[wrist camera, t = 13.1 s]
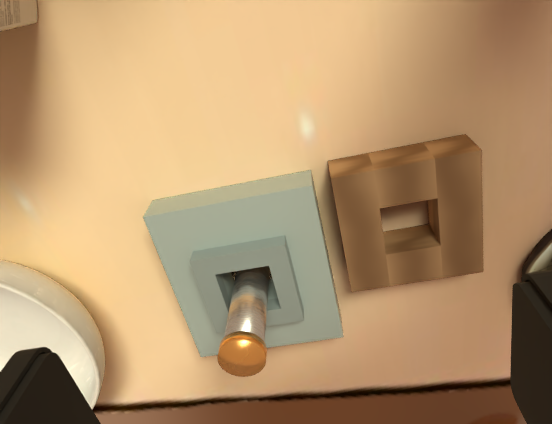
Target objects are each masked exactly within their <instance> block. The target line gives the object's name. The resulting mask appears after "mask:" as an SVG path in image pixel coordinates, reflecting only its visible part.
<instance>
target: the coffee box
mask: <svg viewBox="0 0 552 424" xmlns="http://www.w3.org/2000/svg"><path fill="white" fill-rule="evenodd" d="M37 21H38V13H37V0H0V32H1V31H5V30H9V29H15V28H18V27H22V26H26V25H30V24H34V23H37Z"/></svg>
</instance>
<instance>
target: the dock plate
mask: <svg viewBox="0 0 552 424" xmlns="http://www.w3.org/2000/svg"><path fill="white" fill-rule="evenodd" d="M143 218H144V221H145V223H146V226H147V228H148V230H149V233H150V235H151V238H152V240H153V243H154V245H155V247H156V250H157V252H158V255H159V257H160V259H161V262H162V264H163V267H164V269H165V271H166V274H167V276H168V279H169V281H170V284H171V286H172V288H173V291H174V293H175V296H176V298H177V300H178V303H179V305H180V308H181V310H182V312H183V315H184V317H185V320H186V322H187V325H188V327H189V329H190V332H191V334H192V337H193V339H194V341H195V344H196V346H197V349H198V351H199V354H200V356H201V357H206V356H213V355H218V352H219V347H220V343H221V341H222V339H223V338H224V335H225V330H226V324H227V319H228V314H229V308H230V303H231V297H232V292H233V287H234V279H233V276H232V273H231V272H234V271H240V270H246V269H252V268H258V267H264V266H269V268H270V271H271V275H272V279H269V289H268V303H267V316H266V329H265V344H266V348H270V347H277V346H284V345H291V344H298V343H305V342H312V341H319V340H326V339H333V338H341V337H344V336H343V329H342V321H341V314H340V309H339V305H338V300H337V295H336V290H335V285H334V280H333V275H332V270H331V266H330V261H329V256H328V251H327V246H326V241H325V236H324V231H323V227H322V222H321V217H320V212H319V207H318V202H317V197H316V192H315V188H314V183H313V178H312V173H311V170H308V171H303V172H297V173H292V174H287V175H282V176H277V177H272V178H266V179H261V180H256V181H251V182H246V183H240V184H235V185H230V186H225V187H220V188H214V189H209V190H204V191H199V192H194V193H189V194H183V195H178V196H173V197H168V198H163V199H157V200H153V201H152V203H151V204H150V206H149V208H148V210H147V211H146V213H145V215H144V216H143Z"/></svg>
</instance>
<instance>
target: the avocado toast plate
mask: <svg viewBox="0 0 552 424" xmlns="http://www.w3.org/2000/svg"><path fill="white" fill-rule="evenodd" d="M547 270H552V229H551V230H550V231H549V232H548V233H547V234H546V235H545V236H544V237H543V238H542V239H541V241H540V242H539V243H538V244H537V245H536V247H535V248H534V250H533V252H532V253H531V255H530V256H529V258H528V259H527V261H526V262H525V264H524V266H523V269H522V277H523V275H524V274H527V273H533V272H540V271H547ZM522 277H521V282H522Z"/></svg>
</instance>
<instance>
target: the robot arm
mask: <svg viewBox="0 0 552 424" xmlns="http://www.w3.org/2000/svg"><path fill="white" fill-rule="evenodd" d="M511 388H512V392H513V395H514V398H515V400H516V403H517V405H518V406H519V409H520V411H521V413H522V415H523V417H524V418H525V421H526V422H527V424H552V270H547V271H540V272H533V273H527V274H524V275H523V277H522V282H521V283H515V284H514V285H513V297H512V339H511ZM0 424H100V422H99V420H98V419H97V417H96V415H95V414H94V412H93V410H92V409H91V407H90V406H89V404H88V402H87V401H86V399H85V397H84V396H83V394H82V393H81V391H80V389H79V388H78V386H77V384H76V383H75V381H74V379H73V378H72V376H71V375H70V373H69V371H68V370H67V368H66V366H65V365H64V363H63V362H62V360H61V358H60V357H59V356H58V354H56V353H53V352H52V351H51V350H50V349H49V348H47V347H39V348H33V349H26V350H20V351H17V352H15V353H14V354H13V355H12V356H11V358H10V359H9V361H8V362H7V363H6V365H5V366H4V368H3V369H2V370H1V372H0Z"/></svg>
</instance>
